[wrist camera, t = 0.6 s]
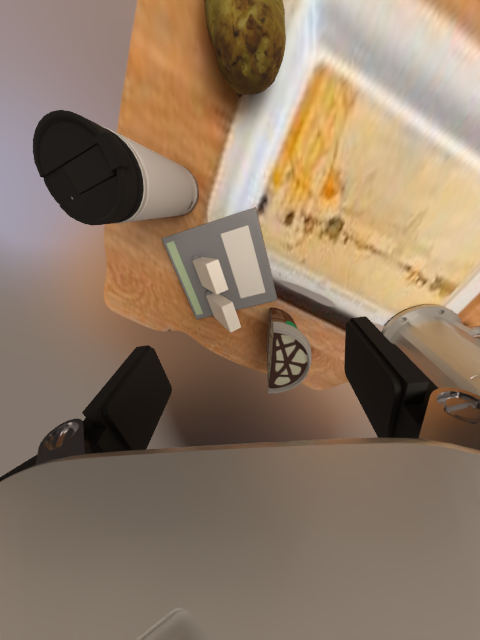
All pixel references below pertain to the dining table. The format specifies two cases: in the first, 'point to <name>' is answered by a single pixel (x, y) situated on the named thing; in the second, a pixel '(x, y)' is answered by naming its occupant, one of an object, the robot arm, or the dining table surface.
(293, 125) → the dining table surface
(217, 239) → the panel
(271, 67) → the potato
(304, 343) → the food container
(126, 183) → the travel mug
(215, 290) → the paddle on
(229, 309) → the paddle
